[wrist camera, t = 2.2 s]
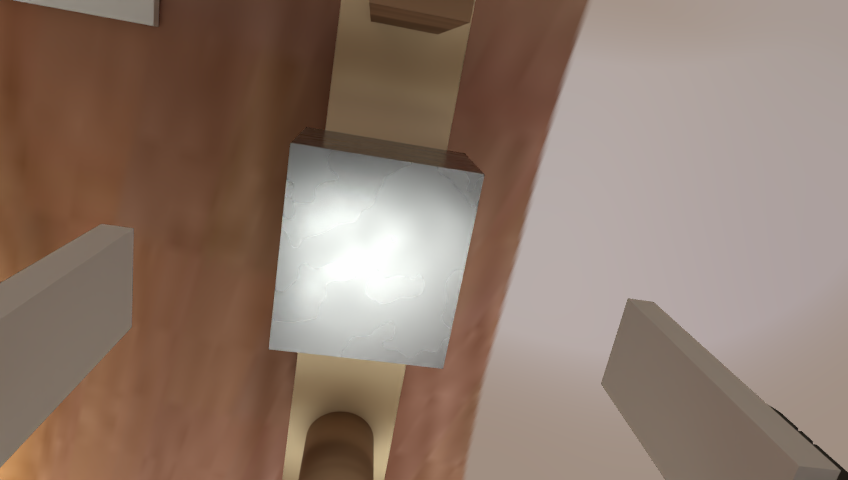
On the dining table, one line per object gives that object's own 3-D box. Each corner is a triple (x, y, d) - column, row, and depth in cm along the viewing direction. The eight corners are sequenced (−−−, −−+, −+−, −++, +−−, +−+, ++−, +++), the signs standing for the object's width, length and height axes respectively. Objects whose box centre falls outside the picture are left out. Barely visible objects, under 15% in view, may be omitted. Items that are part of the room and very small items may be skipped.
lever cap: (431, 317, 23) (442, 368, 19) (286, 299, 22) (268, 349, 18) (464, 153, 21) (484, 174, 17) (306, 127, 20) (290, 142, 16)
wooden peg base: (379, 418, 31) (382, 649, 19) (298, 410, 31) (247, 644, 19) (470, -89, 24) (574, -245, 12) (364, -113, 23) (354, -306, 11)
